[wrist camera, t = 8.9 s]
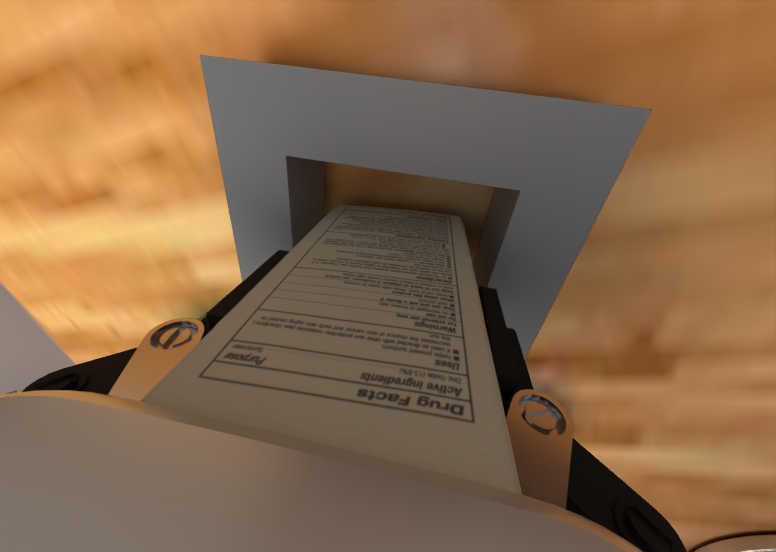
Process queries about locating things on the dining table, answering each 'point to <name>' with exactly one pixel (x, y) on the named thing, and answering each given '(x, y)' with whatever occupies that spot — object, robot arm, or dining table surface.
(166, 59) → the dining table surface
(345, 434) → the skincare box
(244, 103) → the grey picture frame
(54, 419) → the robot arm
